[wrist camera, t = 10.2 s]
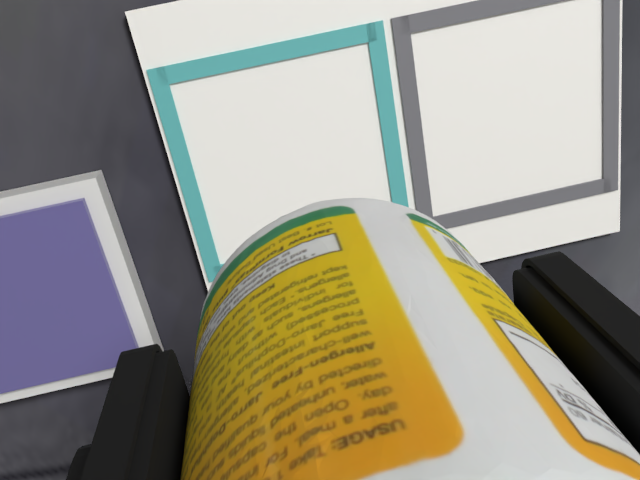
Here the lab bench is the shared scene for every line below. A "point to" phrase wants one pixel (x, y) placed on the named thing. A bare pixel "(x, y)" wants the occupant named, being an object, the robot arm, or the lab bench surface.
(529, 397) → the supplement bottle
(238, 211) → the print sheet
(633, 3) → the lab bench surface
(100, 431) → the robot arm
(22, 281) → the ink pad
